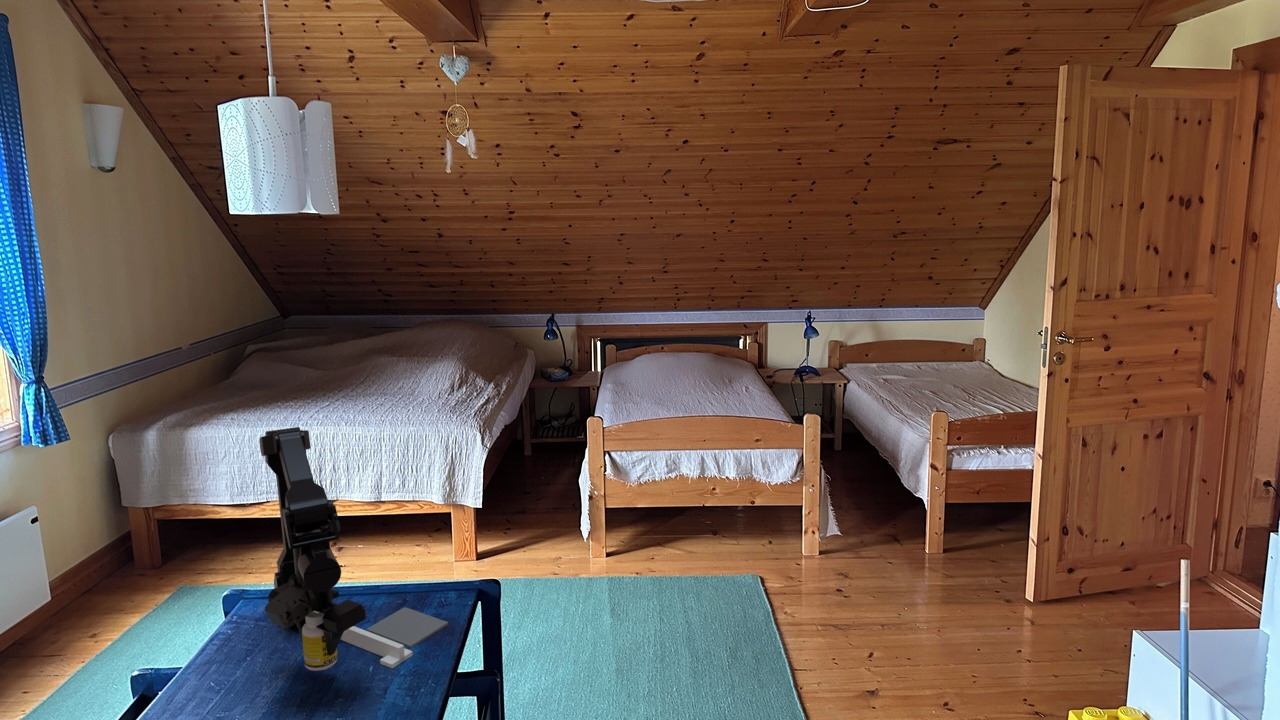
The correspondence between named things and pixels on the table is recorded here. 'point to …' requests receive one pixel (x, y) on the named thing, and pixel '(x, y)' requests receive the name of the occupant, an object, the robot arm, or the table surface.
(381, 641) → the white barrier
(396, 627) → the slate mat
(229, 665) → the table surface
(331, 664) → the supplement bottle
